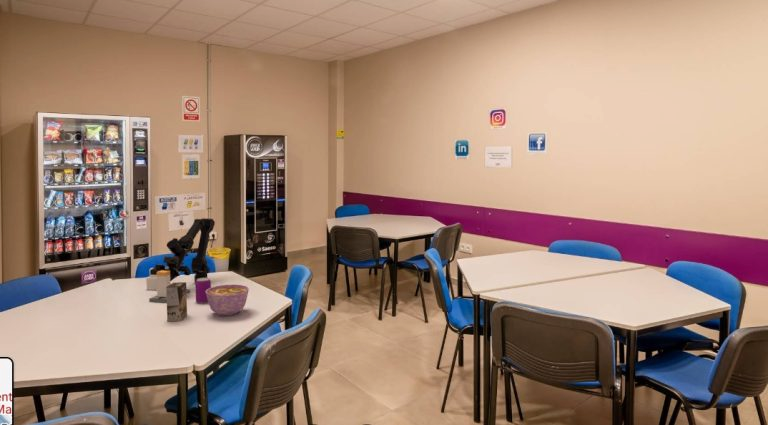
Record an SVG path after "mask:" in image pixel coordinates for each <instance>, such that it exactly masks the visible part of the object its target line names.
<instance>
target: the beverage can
mask: <svg viewBox="0 0 768 425" xmlns="http://www.w3.org/2000/svg"><path fill="white" fill-rule="evenodd" d="M194 283H195V282H194ZM211 287H212V282H211V280H210V278H209V277H207V278H199V279H197V281H196V283H195V286H194V288H195V302H196V304H197V303H198V304H209V302H208V299H207V295H206V292H205V291H206V290H207V289H209V288H211Z"/></svg>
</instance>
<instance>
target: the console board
mask: <svg viewBox="0 0 768 425" xmlns="http://www.w3.org/2000/svg"><path fill="white" fill-rule="evenodd" d="M186 291H187V294H189V293H190V292H191V289H189V288H186ZM148 299H149V300H148V302H149V303H160V304H167V297H159V296H157V295H155V296H153V297H151V298H148Z"/></svg>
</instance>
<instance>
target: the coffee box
mask: <svg viewBox="0 0 768 425" xmlns="http://www.w3.org/2000/svg"><path fill="white" fill-rule="evenodd" d="M186 289H187V282H184V281H183V282H182V281H181V282H179V281H178V282H172V283H170V285H169V286H167V287H166V296H167V303H166V317H167V318H166V321H167V322H181V321H183V319H184V318H185V317H187V316H188V302H187V301H188V297H187V296H188V293H187V291H186Z"/></svg>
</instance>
